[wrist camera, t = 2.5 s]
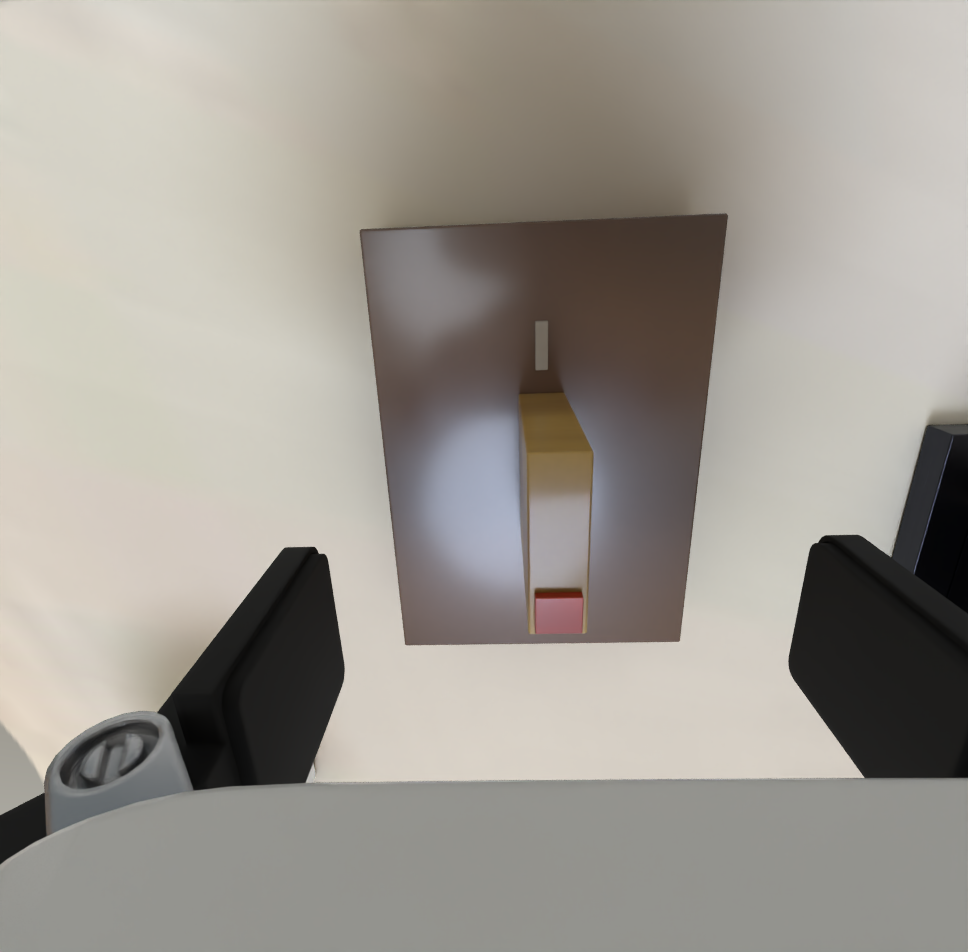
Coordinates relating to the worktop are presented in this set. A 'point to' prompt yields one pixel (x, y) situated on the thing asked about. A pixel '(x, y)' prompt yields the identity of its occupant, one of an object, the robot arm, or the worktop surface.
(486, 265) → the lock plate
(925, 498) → the handle bracket
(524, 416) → the tall mustard panel
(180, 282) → the worktop surface
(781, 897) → the robot arm
